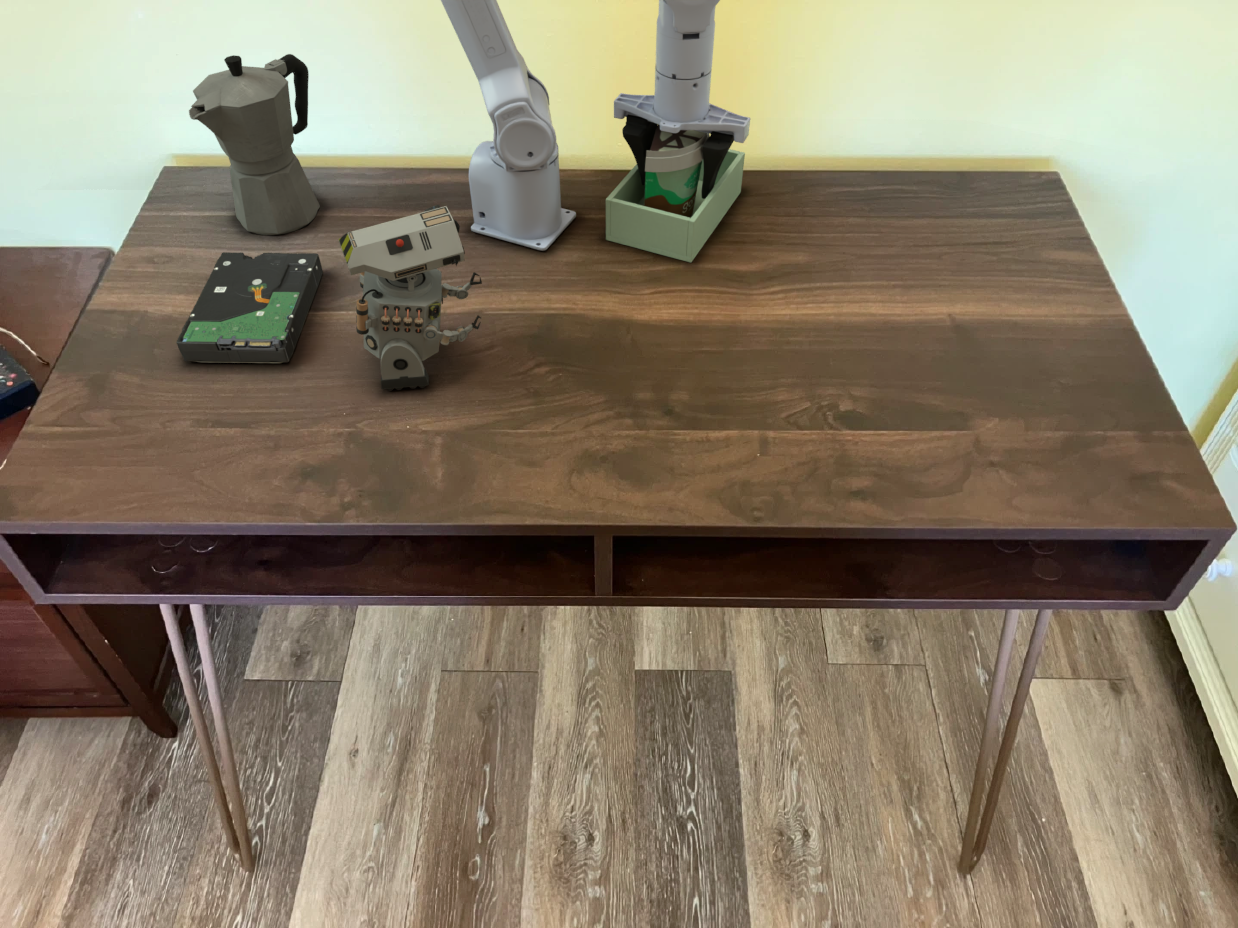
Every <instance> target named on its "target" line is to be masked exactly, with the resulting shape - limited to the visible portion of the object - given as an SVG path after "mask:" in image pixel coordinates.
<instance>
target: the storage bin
mask: <svg viewBox="0 0 1238 928" xmlns="http://www.w3.org/2000/svg"><path fill="white" fill-rule="evenodd" d="M745 157H746V152H744V151H740V150H735V149H731V148H729V150H728V152H727V154H726V156H725V158H724V160H723V162H722V164H721V167H720V169H719V172H718V175H717V178H716V181H715V184H714V188H713V189H712V190H711V192H710V193H709V194H708V196H707V197H706V198H705V199H703V198H702V192H701V191H702V183H703V175H704V162H703V160H702V165H701V170H700V176H699V181H698V187H697V192H696V198H695V204H694V209H693V214H692V216H691V217H690V218H689V217H685V216H682V215H678V214H674V213H670V212H666V211H662V210H658V209H654V208H650V207H646V206H644V201H645V186H643V185H642V182H641V177H640V173H639V169H638V166H637V163H636V164H635V165H634V166H633V167H632V169H631V170H630V171H629V172H628V173H627V174H626V175H625V177H623V179H622V180H621V181H620V182H619V184H618V185H617V186H616V187H615V188H614V189H613V190H612V192H610V194H609V195H607V197H606V198H605V240H606V241H608V242H613V243H616V244H620V245H622V246H623V245H624V246H627V247H631V248H635V249H639V250H643V251H646V252H650V253H654V254H658V255H661V256H664V257H668V258H671V259H675V260H679V261H683V262H687V263H692V262H693V261H694V259H695V258H696V257H697V255H698V254H699V252H700V251H701V249H702V248H703V247H704V245H705V244H706V242H707V241H708V240H709V238H710V237H711V235H712V234H713V232H714V231H715V230H716V228H717V227H718V225H719V224H720V222H721V221H722V220H723V218H724V217H725V215H726V214H727V212H728V211H729V209H731V206H732V205H733V204H734V203H735V201H736V200H737V198H738V197H739V195H740V194H741V192H742V184H743V175H744V165H745Z"/></svg>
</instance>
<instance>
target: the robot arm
mask: <svg viewBox="0 0 1238 928" xmlns="http://www.w3.org/2000/svg"><path fill="white" fill-rule="evenodd" d="M440 2H441V4H442V6H443V8H444V10H445V13H446V14H447V18H448V19H449V21H450V23H451V26H452V28H453V30H454V32H455V35H456V36H457V39H458V41H459V43H460V45H461V46H462V49H463V52H464V53H465V57H466V58H467V60H468V62H469V64H470V66H471V68H472V71H473V73H474V75H475V78H476V79H477V82H478V85H479V87H480V88H479V89H480V91H481V95H482V98H483V103H484V105H485V108H486V112H487V115H488V117H489V118H490V121H491V123H492V127H493V128H492V129H493V134H492V135H493V138H492V140H484V141H482V142H480V143H479V144H478V145H477V147H476V148H475V149H474V151H473V153H472V155H471V157H470V161H469V166H468V184H469V193H470V199H471V209H472V215H473V223H472V225H471V226H470V230H471V232H473V233H477V234H480V235H484V236H487V237H491V238H495V239H498V240H502V241H505V242H509V243H513V244H516V245H520V246H524V247H527V248H531V249H533V250H537V251H542V252H544V251H547V250H548V248H549V247H550V246H551V245H552V244H553V243H554V242H555V241H556V239H558V237H559V236H560V235H561V234H562V233H563V231H565V230H566V229H567V228H568V227H569V225H570V224H571V223H572V222H573V221H574V220H575V219H576V217H577V212H576V211H575V210H571V209H566V208H562V197H561V176H560V157H559V156H560V154H559V145H558V142H557V133H556V130H555V128H554V125H553V120H552V115H551V110H550V96H549V92H548V89H547V87H546V86H545V85H544V83H543V82H542V81H541V80H540V79H539V78H538V77H537V76H535V75H534V74H533V73H532V72H531V70H530V69H529V68H528V65H527V63H526V61H525V58H524V57H523V55H522V54H521V53H520V52H519V50H518V48H517V46H516V43H515V41H514V38H513V36H512V33H511V31H510V29H509V26H508V24H507V22H506V19H505V17H504V15H503V13H502V10H501V8H500V5H499V3H498V0H440ZM720 2H721V0H658V16H657V18H656V31H655V32H656V35H655V63H654V64H655V66H654V94H630V93H623V92H620V93H619V94H618V96H617V97H616V98H615V99H614V100H613V118H614V119H619V120H624V119H625V118H626V121H625V125H624V126H623V127H622V132H621V133H622V137H623V139H624V140H625V142H626V143H627V145H628V147H629V149H630V150H631V153H632V156H633V157H634V160H635V162H636V164H637V166H638V169H639V173H640V177H641V182H642V185H643V186H645V176H646V172H645V163H646V153H647V150H648V151H650V149H651V146H652V142H653V139H654V135H655V131H656V128H657V126H658V125H660V130H661V131H665V132H670V133H678V132H679V131H680V130H695V131H700V132H705V133H709V135H710V137H709V138H708V139H707V141H706V142H705V143H704V145H703V147H702V152H703V162H704V175H703V183H702V191H701V192H702V198H703V199H705V198H706V197H707V196H708V194H709V193H710V192H711V190H712V189H713V188H714V184H715V181H716V178H717V175H718V172H719V169H720V167H721V164H722V162H723V160H724V158H725V156H726V154H727V152H728V150H729V149H731V147H732V145H733V144H734V142H735V143H738V144H744V143H745V142H746V140H747V138H748V137H749V134H750V125H751V117H748V116H744V115H741V114H737V113H734V112H733V111H730V110H727V109H724V108H722V107H719V106H717V105H714V104H713V103H710V96H711V83H712V70H713V59H714V58H713V57H714V45H715V31H716V21H715V15H716V6H717V5H718V4H719V3H720Z"/></svg>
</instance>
